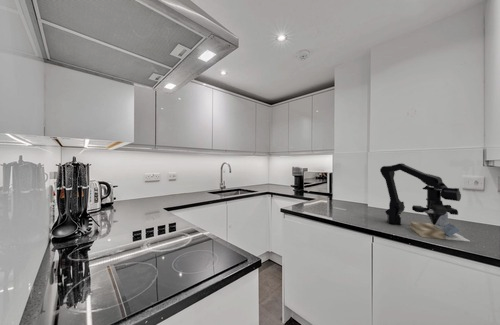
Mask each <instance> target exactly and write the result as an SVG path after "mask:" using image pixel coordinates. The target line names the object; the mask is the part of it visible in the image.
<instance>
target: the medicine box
mask: <svg viewBox="0 0 500 325" xmlns="http://www.w3.org/2000/svg"><path fill="white" fill-rule="evenodd" d="M448 213H449V212H447V213H446V214H445V215H442V216H440V217H439V219H438V221H437V223H436V224H435V225H439V226H441V227H444V226H446V225H447V224H449V214H448Z"/></svg>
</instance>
